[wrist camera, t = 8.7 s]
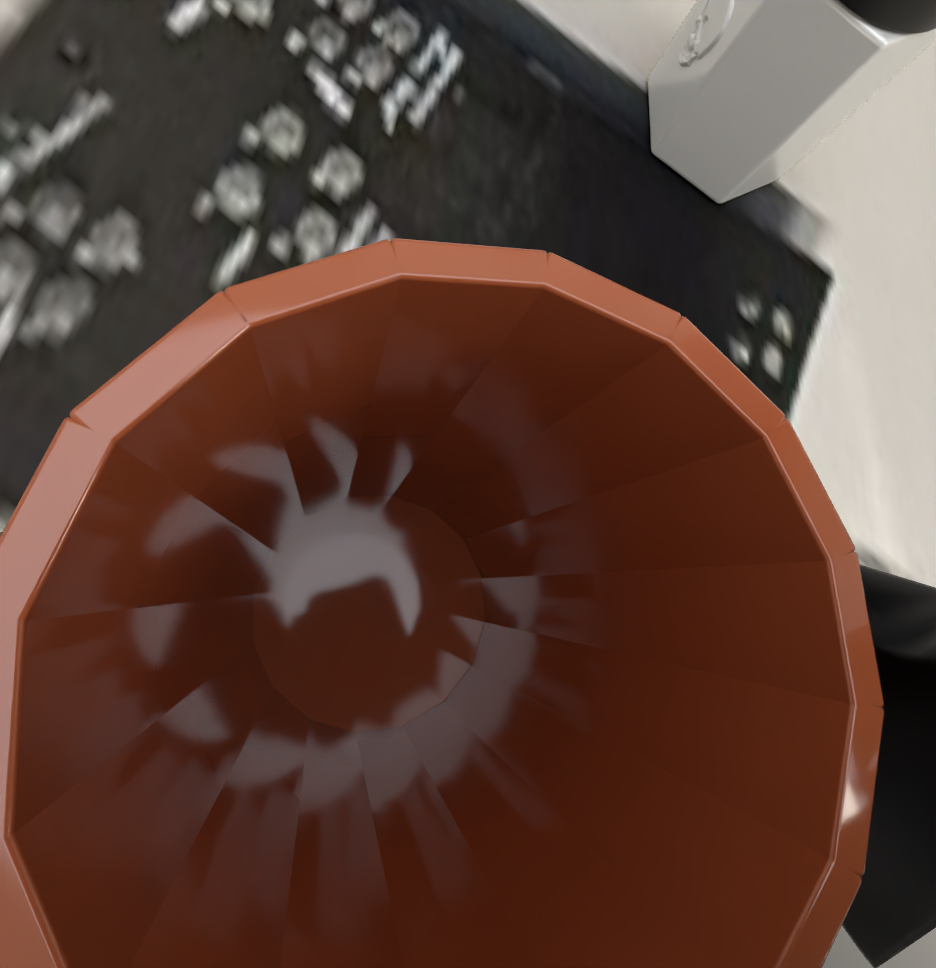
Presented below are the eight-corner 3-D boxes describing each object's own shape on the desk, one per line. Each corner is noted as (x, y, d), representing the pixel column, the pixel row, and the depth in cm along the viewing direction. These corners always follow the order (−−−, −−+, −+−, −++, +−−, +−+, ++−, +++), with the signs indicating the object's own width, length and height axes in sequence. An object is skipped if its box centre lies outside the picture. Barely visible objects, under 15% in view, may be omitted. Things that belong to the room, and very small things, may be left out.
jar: (640, 42, 30) (832, -286, 19) (768, 76, 32) (1014, -202, 21) (647, 192, 29) (861, -67, 17) (781, 218, 31) (1054, 2, 19)
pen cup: (534, 594, 17) (992, 614, 5) (379, 793, 15) (569, 1514, 3) (365, 440, 16) (460, 93, 5) (183, 623, 14) (-380, 770, 3)
